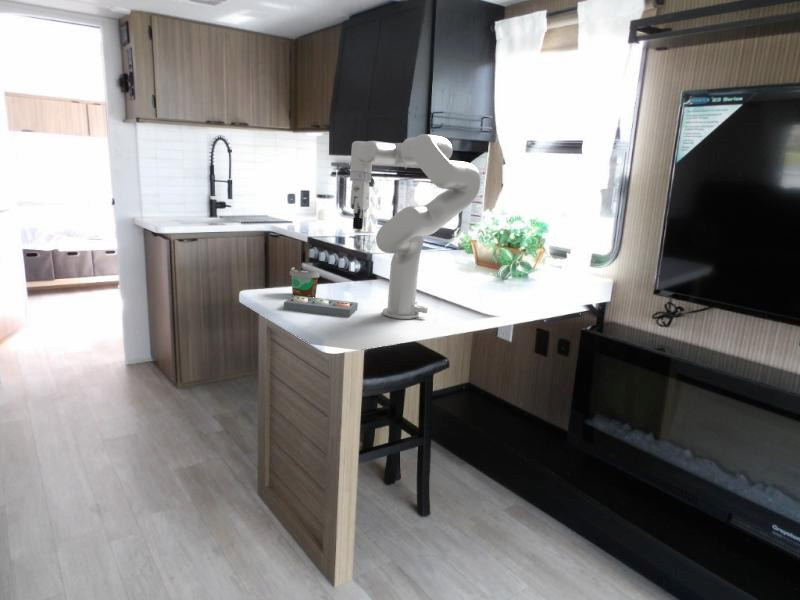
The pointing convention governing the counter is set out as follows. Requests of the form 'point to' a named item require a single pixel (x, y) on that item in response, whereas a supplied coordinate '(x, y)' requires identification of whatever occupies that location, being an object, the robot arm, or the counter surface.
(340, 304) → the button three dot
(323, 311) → the gray rectangular tray
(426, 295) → the counter surface
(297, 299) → the button two dot
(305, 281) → the food container
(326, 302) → the button one dot
